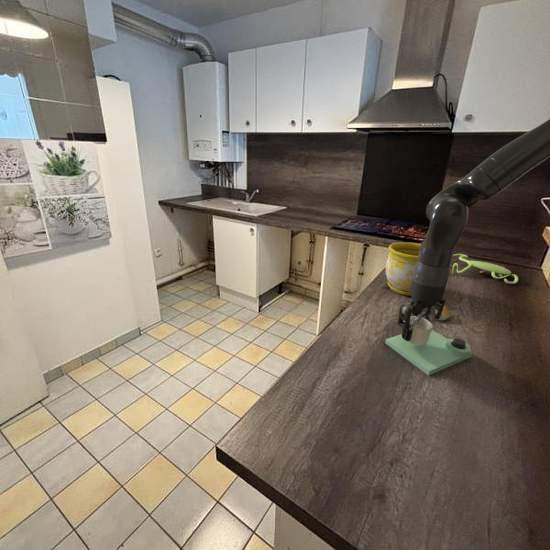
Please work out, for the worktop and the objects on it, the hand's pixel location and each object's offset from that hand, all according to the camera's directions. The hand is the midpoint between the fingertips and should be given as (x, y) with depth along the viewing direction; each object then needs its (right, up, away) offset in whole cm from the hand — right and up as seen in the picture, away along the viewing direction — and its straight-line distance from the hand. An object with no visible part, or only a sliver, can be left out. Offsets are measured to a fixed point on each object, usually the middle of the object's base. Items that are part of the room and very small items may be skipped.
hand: (415, 336), depth 77 cm
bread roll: (+16, +3, +19) cm, 25 cm away
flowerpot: (+14, +11, +37) cm, 41 cm away
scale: (+4, -4, +1) cm, 5 cm away
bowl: (0, -1, 0) cm, 1 cm away
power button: (+10, -2, -1) cm, 11 cm away
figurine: (+53, +17, +53) cm, 77 cm away
